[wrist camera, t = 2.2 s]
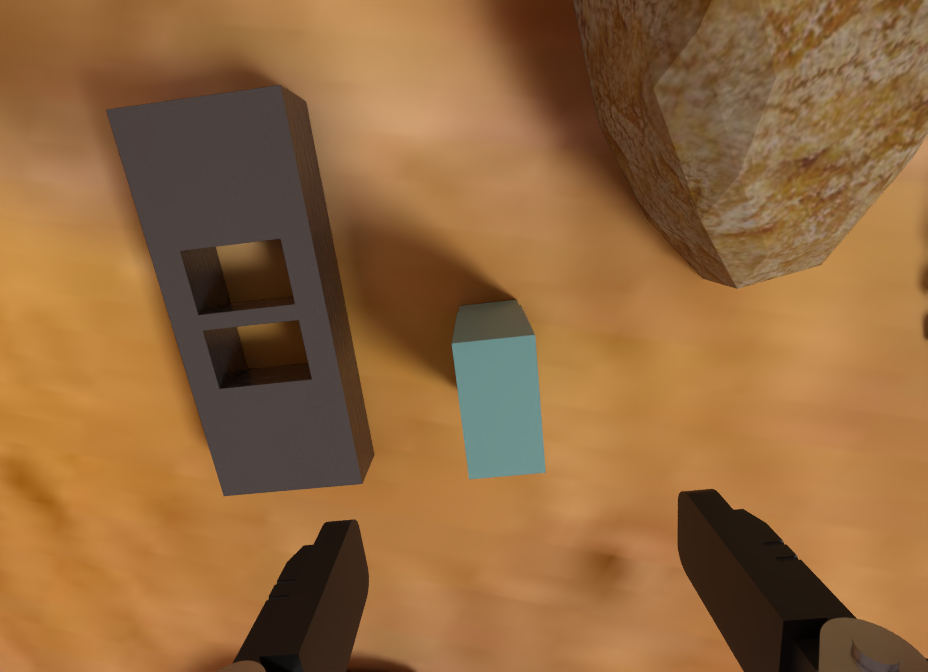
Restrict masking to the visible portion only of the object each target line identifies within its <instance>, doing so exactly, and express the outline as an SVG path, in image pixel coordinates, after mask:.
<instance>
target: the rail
mask: <svg viewBox="0 0 928 672" xmlns="http://www.w3.org/2000/svg"><path fill="white" fill-rule="evenodd" d="M106 111H107V115H108V118H109V121H110V124H111V128H112V131H113V134H114V137H115V141H116V144H117V147H118V151H119V154H120V157H121V160H122V164H123V167H124V170H125V174H126V177H127V180H128V183H129V187H130V190H131V193H132V197H133V200H134V203H135V206H136V210H137V213H138V216H139V219H140V223H141V226H142V229H143V233H144V236H145V239H146V242H147V246H148V249H149V252H150V256H151V259H152V262H153V265H154V269H155V272H156V275H157V278H158V282H159V285H160V288H161V292H162V295H163V298H164V301H165V305H166V308H167V311H168V315H169V318H170V321H171V324H172V328H173V331H174V334H175V337H176V341H177V344H178V347H179V351H180V354H181V357H182V360H183V364H184V367H185V370H186V374H187V377H188V380H189V383H190V387H191V390H192V393H193V397H194V400H195V403H196V406H197V410H198V413H199V416H200V419H201V423H202V426H203V429H204V433H205V436H206V439H207V442H208V446H209V449H210V452H211V456H212V459H213V462H214V465H215V469H216V472H217V475H218V478H219V482H220V485H221V488H222V492H223V495H224V496H231V495H242V494H253V493H265V492H276V491H287V490H298V489H310V488H321V487H332V486H344V485H355V484H362V483H363V481H364V479H365V476H366V474H367V471H368V469H369V467H370V464H371V462H372V459H373V457H374V451H373V446H372V441H371V436H370V431H369V425H368V420H367V415H366V410H365V405H364V399H363V394H362V389H361V384H360V379H359V374H358V368H357V363H356V358H355V353H354V348H353V343H352V337H351V332H350V327H349V322H348V317H347V312H346V306H345V301H344V296H343V291H342V286H341V281H340V275H339V270H338V265H337V260H336V255H335V249H334V244H333V239H332V234H331V229H330V224H329V218H328V213H327V208H326V203H325V198H324V193H323V187H322V182H321V177H320V172H319V167H318V162H317V156H316V151H315V146H314V141H313V136H312V130H311V125H310V120H309V115H308V110H307V105H306V101H304V100H303V99H301V98H300V97H298V96H296V95H295V94H293V93H292V92H290V91H289V90H287V89H286V88H284V87H283V86H281V85H277V86H270V87H263V88H256V89H249V90H242V91H235V92H228V93H221V94H214V95H207V96H200V97H193V98H186V99H179V100H171V101H164V102H157V103H150V104H143V105H136V106H129V107H122V108H115V109H108V110H106ZM273 239H281V243H282V248H283V252H284V257H285V261H286V266H287V270H288V275H289V279H290V283H291V288H292V292H293V296H290V297H281V298H272V299H263V300H254V301H246V302H237V303H230V300H229V296H228V293H227V289H226V285H225V281H224V277H223V274H222V270H221V266H220V262H219V258H218V255H217V251H216V246H224V245H232V244H240V243H249V242H257V241H265V240H273ZM293 320H299V324H300V328H301V332H302V337H303V341H304V346H305V350H306V355H307V359H308V363H303V364H294V365H284V366H275V367H265V368H256V369H248V368H247V364H246V361H245V357H244V353H243V349H242V345H241V342H240V338H239V334H238V330H237V327H239V326H248V325H257V324H266V323H275V322H284V321H293Z"/></svg>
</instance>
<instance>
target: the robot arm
mask: <svg viewBox="0 0 928 672" xmlns="http://www.w3.org/2000/svg"><path fill="white" fill-rule="evenodd" d="M678 552H679V556H680V560H681V563H682V566H683V568H684V571H685V573H686V574H687V576H688V578H689V580H690V581H691V583H692V585H693V586H694V588H695V590H696V591H697V593H698V595H699V596H700V598H701V600H702V602H703V603H704V605H705V607H706V608H707V610H708V612H709V613H710V615H711V617H712V618H713V620H714V622H715V624H716V625H717V627H718V629H719V630H720V632H721V634H722V635H723V637H724V639H725V640H726V642H727V644H728V646H729V647H730V649H731V651H732V652H733V654H734V656H735V657H736V659H737V661H738V662H739V664H740V666H741V668H742V669H743V671H744V672H928V659H926V658H925V657H924V656H923V655H922V654H921V653H920V652H919V651H918V650H917V649H915V648H914V647H913V646H912V645H911V644H909V643H908V642H907V641H905V640H904V639H902V638H901V637H899V636H898V635H896V634H894V633H893V632H891V631H889V630H887V629H885V628H883V627H881V626H878V625H876V624H873V623H870V622H867V621H864V620H860V619H857V618H856V617H855V616H854V615H853V614H852V613H851V612H850V611H849V610H848V609H847V608H846V607H845V606H844V605H843V604H842V603H841V602H840V600H839V599H838V598H837V597H836V596H835V595H834V594H833V593H832V592H831V591H830V590H829V589H828V588H827V587H826V586H825V585H824V584H823V583H822V581H821V580H820V579H819V578H818V577H817V576H816V575H815V574H814V573H813V572H812V571H811V570H810V569H809V568H808V567H807V566H806V565H805V564H804V562H803V561H802V560H798V558H797V555H796V554H795V553H794V552H793V551H792V550H791V549H790V548H789V547H788V546H787V545H784V543H783V540H782V539H781V538H780V537H779V536H778V535H777V534H776V533H775V532H774V531H773V530H772V529H771V528H770V527H769V526H768V525H767V523H765V522H763V521H762V520H760V519H759V518H757V517H755V516H754V515H752V514H750V513H749V512H747V511H745V510H744V509H738V510H733V509H732V508H731V507H730V505H729V504H728V503H727V502H726V501H725V500H724V499H723V497H722V496H721V495H720V494H719V493H718V492H717V491H716V490H714V489H706V490H694V491H683V492H680V493H679V496H678ZM368 587H369V573H368V566H367V561H366V557H365V552H364V547H363V543H362V538H361V533H360V529H359V525H358V522H357V521H356V520H355V519H354V520H343V521H332V522H326V523H324V525H323V526H322V528H321V530H320V532H319V535H318V537H317V539H316V541H315V543H314V545H305V546H303V547H302V548H301V549H300V550H299V551H298V552H297V553H296V554H295V555H294V556H293V557H292V558H291V559H290V560H289V561H288V562H287V563H286V565H285V567H284V569H283V571H282V573H281V575H280V576H279V578H278V580H277V584H276V585H275V586H274V588H273V589H272V591H271V593H270V595H269V600H267V601H266V602H265V604H264V606H263V608H262V610H261V612H260V614H259V615H258V617H257V619H256V621H255V623H254V625H253V627H252V628H251V630H250V632H249V634H248V636H247V638H246V640H245V641H244V643H243V645H242V647H241V649H240V651H239V653H238V654H237V656H236V658H235V660H234V662H233V663H232V664H230V665H227V666H225V667H223V668H222V669H220V670H218V671H217V672H346V670H347V667H348V663H349V660H350V656H351V652H352V649H353V645H354V642H355V638H356V635H357V631H358V627H359V624H360V620H361V617H362V613H363V610H364V606H365V602H366V599H367V594H368Z"/></svg>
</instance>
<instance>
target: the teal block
mask: <svg viewBox="0 0 928 672" xmlns="http://www.w3.org/2000/svg"><path fill="white" fill-rule="evenodd" d="M452 350H453V358H454V365H455V373H456V381H457V388H458V396H459V404H460V412H461V419H462V427H463V435H464V442H465V450H466V458H467V465H468V473H469V479H478V478H490V477H501V476H513V475H524V474H535V473H546V471H545V458H544V445H543V432H542V419H541V406H540V393H539V380H538V367H537V354H536V341H535V334H534V332H533V330H532V328H531V325H530V323H529V321H528V319H527V317H526V315H525V313H524V311H523V309H522V307H521V305H519V304H518V301H517V300H508V301H499V302H490V303H481V304H472V305H463V306H459V312H457V317H456V322H455V328H454V333H453V339H452Z"/></svg>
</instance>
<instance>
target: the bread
mask: <svg viewBox="0 0 928 672" xmlns="http://www.w3.org/2000/svg"><path fill="white" fill-rule="evenodd" d="M573 4H574V9H575V13H576V18H577V23H578V28H579V33H580V37H581V42H582V47H583V52H584V56H585V61H586V66H587V71H588V75H589V80H590V85H591V90H592V94H593V99H594V104H595V109H596V113H597V118H598V123H599V127H600V128H601V130H602V132H603V134H604V136H605V138H606V140H607V142H608V144H609V146H610V148H611V150H612V151H613V153H614V155H615V157H616V159H617V161H618V163H619V165H620V167H621V169H622V171H623V173H624V175H625V176H626V178H627V180H628V182H629V184H630V186H631V188H632V190H633V192H634V194H635V196H636V198H637V199H638V201H639V203H640V205H641V207H642V209H643V211H644V213H645V215H646V217H647V219H648V220H649V221H650V222H651V223H652V224H653V225H654V226H655V227H656V228H657V229H658V230H659V232H660V233H661V234H662V235H663V236H664V237H665V238H666V239H667V240H668V241H669V242H670V243H671V245H672V246H673V247H674V248H675V249H676V250H677V251H678V252H679V253H680V254H681V255H682V256H683V257H684V259H685V260H686V261H687V262H688V263H689V264H690V265H691V266H692V267H693V268H694V269H695V270H696V271H697V273H698V274H699V275H700V276H701V277H702V278H703V279H706V280H709V281H713V282H716V283H720V284H723V285H726V286H730V287H733V288H736V289H738V288H742V287H745V286H749V285H752V284H756V283H759V282H763V281H766V280H770V279H773V278H777V277H780V276H784V275H787V274H791V273H795V272H798V271H802V270H805V269H809V268H812V267H816V266H819V265H821V264H822V263H823V262H824V261H825V260H826V259H827V257H828V256H829V255H830V254H831V253H832V252H833V250H834V249H835V248H836V247H837V246H838V245H839V243H840V242H841V241H842V240H843V239H844V238H845V236H846V235H847V234H848V233H849V232H850V231H851V229H852V228H853V227H854V226H855V225H856V224H857V222H858V221H859V220H860V219H861V218H862V216H863V215H864V214H865V213H866V212H867V211H868V209H869V208H870V207H871V206H872V205H873V204H874V202H875V201H876V200H877V199H878V198H879V197H880V195H881V194H882V193H883V192H884V191H885V190H886V188H887V187H888V186H889V185H890V184H891V183H892V181H893V180H894V179H895V178H896V177H897V176H898V174H899V173H900V172H901V171H902V170H903V169H904V167H905V166H906V165H907V164H908V163H909V162H910V160H911V159H912V158H913V157H914V155H915V154H916V152H917V150H918V149H919V147H920V145H921V144H922V142H923V140H924V139H925V137H926V135H927V134H928V0H573Z"/></svg>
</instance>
